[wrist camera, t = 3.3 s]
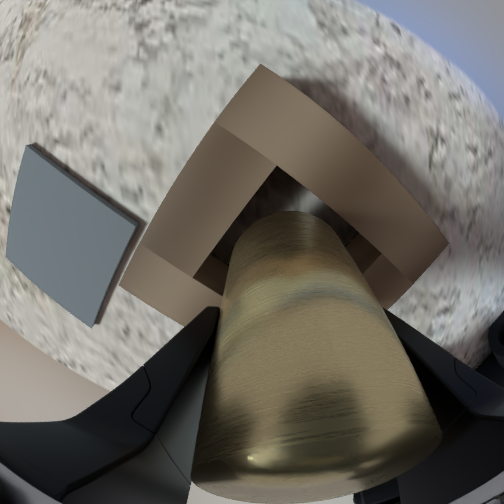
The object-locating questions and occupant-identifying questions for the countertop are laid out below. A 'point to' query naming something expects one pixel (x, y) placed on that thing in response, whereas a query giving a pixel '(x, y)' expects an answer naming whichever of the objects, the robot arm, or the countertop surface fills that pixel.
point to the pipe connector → (495, 354)
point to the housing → (248, 182)
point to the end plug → (305, 375)
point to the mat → (65, 236)
